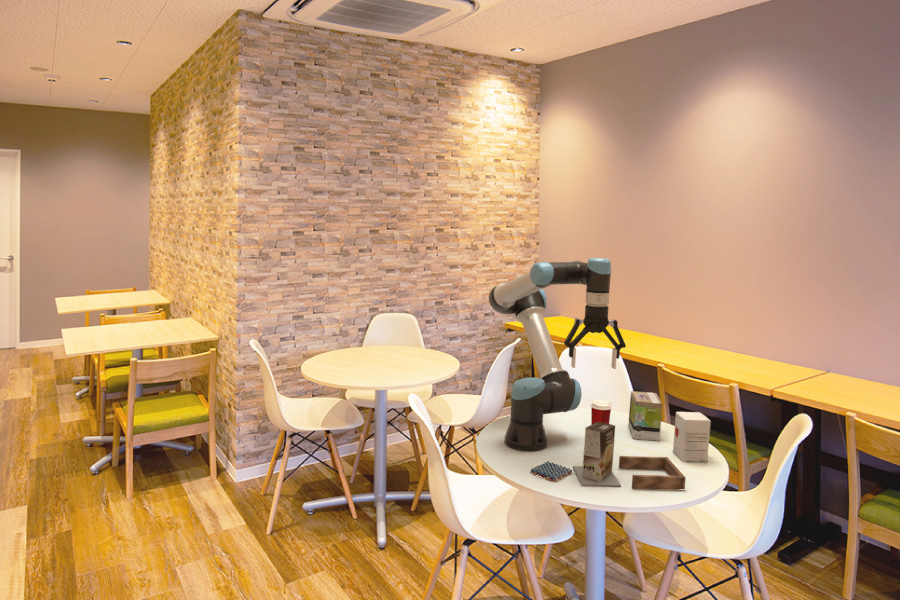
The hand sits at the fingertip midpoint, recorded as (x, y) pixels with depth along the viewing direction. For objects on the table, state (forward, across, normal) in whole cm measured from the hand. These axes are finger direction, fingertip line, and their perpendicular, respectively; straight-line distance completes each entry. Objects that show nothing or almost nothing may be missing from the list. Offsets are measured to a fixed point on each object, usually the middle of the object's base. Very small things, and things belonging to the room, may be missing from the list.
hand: (593, 367), depth 211 cm
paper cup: (+32, +8, +18) cm, 37 cm away
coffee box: (+31, -1, -16) cm, 35 cm away
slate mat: (+32, -1, -16) cm, 36 cm away
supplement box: (+32, +36, +3) cm, 48 cm away
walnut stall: (+32, +16, -16) cm, 39 cm away
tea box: (+32, +27, +26) cm, 49 cm away
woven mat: (+32, -15, -14) cm, 38 cm away
